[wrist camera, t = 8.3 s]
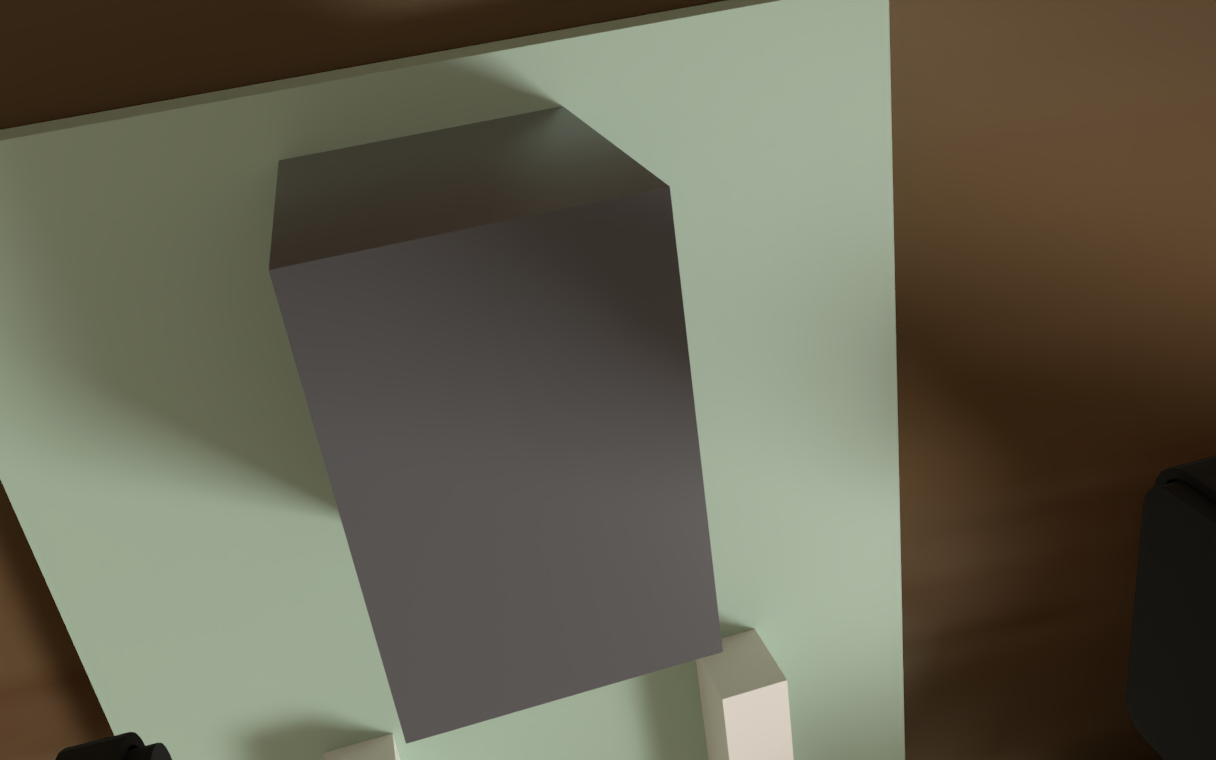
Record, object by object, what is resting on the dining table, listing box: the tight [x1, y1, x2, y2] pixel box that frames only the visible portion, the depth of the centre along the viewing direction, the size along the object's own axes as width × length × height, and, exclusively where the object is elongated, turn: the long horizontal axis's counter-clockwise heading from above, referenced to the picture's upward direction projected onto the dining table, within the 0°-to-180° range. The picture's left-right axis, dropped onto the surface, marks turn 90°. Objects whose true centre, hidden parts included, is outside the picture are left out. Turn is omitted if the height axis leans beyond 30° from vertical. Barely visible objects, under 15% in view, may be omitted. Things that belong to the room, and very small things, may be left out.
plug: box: [269, 106, 723, 744], centre depth 14 cm, size 4×6×5 cm, turn 8°
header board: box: [0, 0, 905, 760], centre depth 18 cm, size 14×20×5 cm
